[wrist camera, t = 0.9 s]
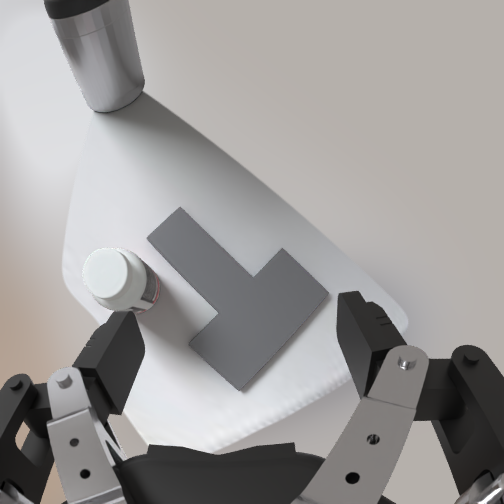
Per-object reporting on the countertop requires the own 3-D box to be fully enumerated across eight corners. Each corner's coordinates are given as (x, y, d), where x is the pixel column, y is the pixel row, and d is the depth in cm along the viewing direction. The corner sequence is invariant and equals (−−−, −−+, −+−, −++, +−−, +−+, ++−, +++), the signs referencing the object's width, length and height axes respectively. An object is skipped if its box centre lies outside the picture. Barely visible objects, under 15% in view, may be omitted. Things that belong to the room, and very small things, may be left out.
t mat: (118, 268, 31) (116, 267, 30) (210, 183, 34) (209, 180, 33) (238, 389, 29) (238, 391, 28) (326, 293, 33) (329, 292, 32)
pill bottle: (136, 253, 31) (106, 224, 22) (171, 287, 31) (151, 271, 21) (104, 289, 30) (63, 274, 20) (137, 324, 30) (104, 323, 20)
